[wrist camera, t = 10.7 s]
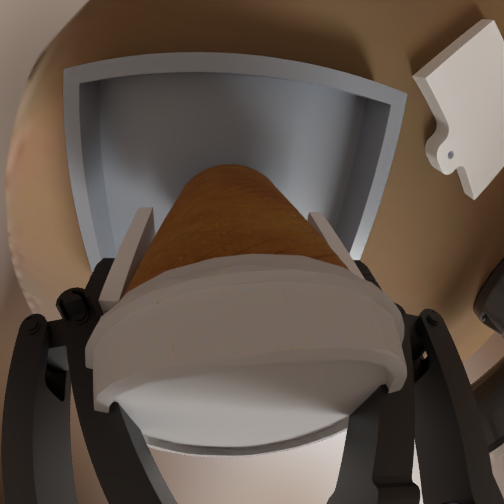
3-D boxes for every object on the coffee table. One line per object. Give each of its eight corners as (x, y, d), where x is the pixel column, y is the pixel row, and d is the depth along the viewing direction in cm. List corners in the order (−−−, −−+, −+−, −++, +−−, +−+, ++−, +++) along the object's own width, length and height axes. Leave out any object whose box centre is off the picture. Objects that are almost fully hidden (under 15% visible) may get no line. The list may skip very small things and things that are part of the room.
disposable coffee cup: (118, 210, 15) (35, 404, 5) (243, 98, 12) (361, 192, 2) (221, 297, 20) (235, 465, 10) (334, 222, 17) (431, 390, 7)
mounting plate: (487, 12, 8) (501, 13, 7) (525, 114, 14) (536, 120, 13) (388, 93, 15) (404, 96, 13) (446, 206, 21) (458, 216, 19)
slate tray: (376, 87, 14) (407, 93, 11) (320, 293, 24) (332, 322, 22) (91, 68, 11) (63, 69, 8) (119, 293, 22) (110, 323, 19)
